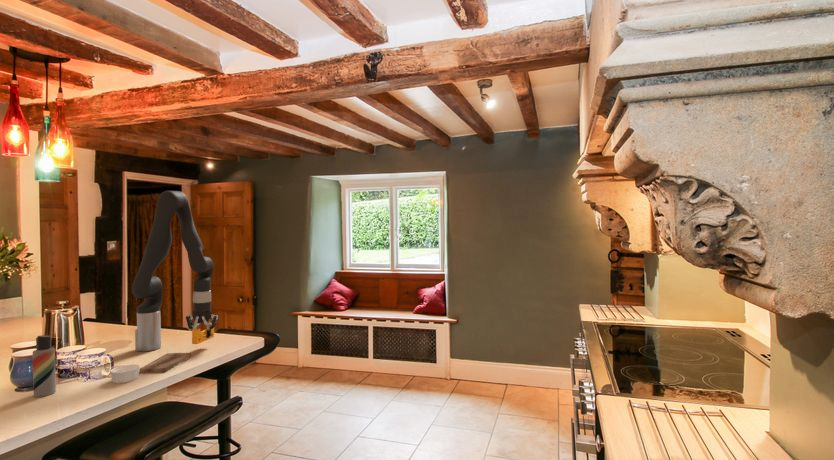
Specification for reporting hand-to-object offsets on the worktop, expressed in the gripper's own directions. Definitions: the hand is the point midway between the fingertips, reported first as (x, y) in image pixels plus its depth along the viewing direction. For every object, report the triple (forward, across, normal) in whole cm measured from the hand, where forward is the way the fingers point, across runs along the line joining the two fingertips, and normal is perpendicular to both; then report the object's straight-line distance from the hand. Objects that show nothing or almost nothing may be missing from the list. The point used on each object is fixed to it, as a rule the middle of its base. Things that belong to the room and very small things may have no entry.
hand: (202, 337), depth 194 cm
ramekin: (+6, +12, +36) cm, 39 cm away
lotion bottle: (+6, +31, +48) cm, 58 cm away
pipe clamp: (+1, 0, 0) cm, 1 cm away
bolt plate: (+5, +6, +19) cm, 21 cm away
